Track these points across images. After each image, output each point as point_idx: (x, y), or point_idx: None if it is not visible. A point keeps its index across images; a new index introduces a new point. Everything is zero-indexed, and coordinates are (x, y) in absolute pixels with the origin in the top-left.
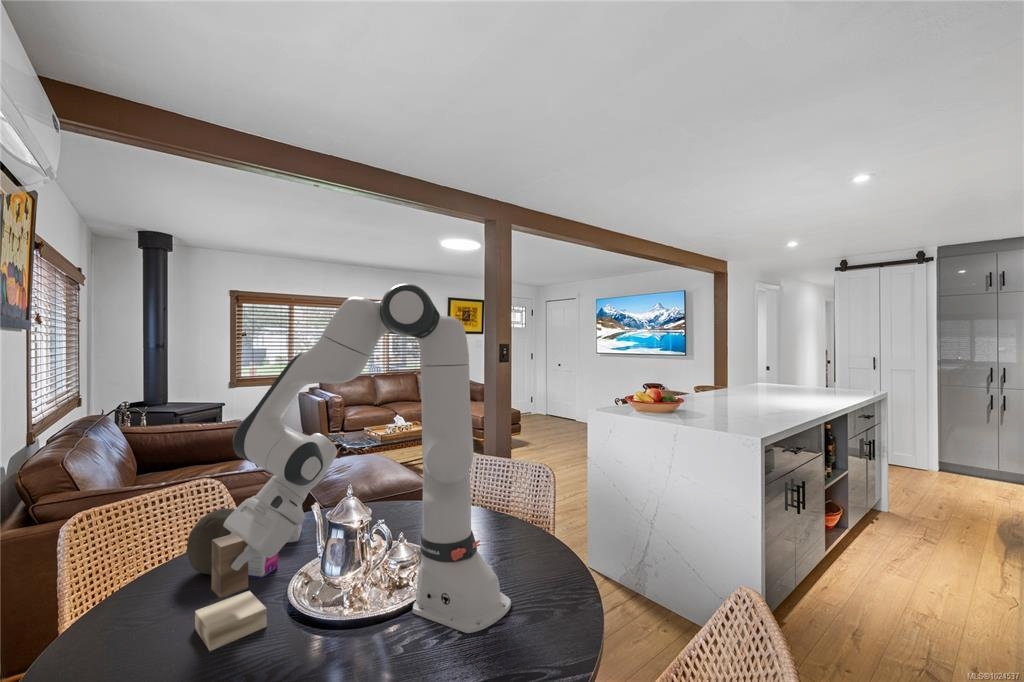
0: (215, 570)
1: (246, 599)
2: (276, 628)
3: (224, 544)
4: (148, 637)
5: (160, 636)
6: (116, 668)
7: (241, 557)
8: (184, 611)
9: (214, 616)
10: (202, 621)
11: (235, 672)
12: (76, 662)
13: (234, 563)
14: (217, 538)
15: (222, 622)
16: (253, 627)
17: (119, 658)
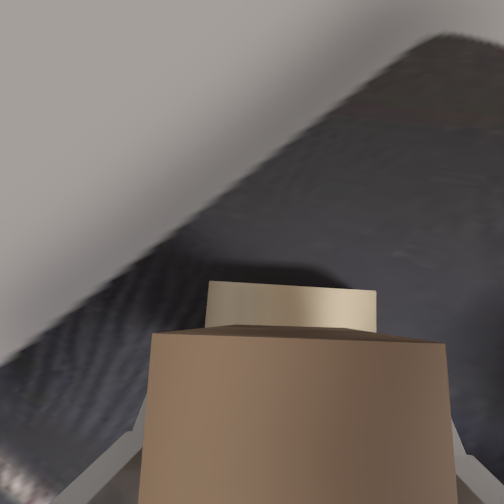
0: (300, 329)
1: None
2: None
3: (193, 387)
4: (414, 203)
5: (394, 224)
6: (325, 132)
7: (111, 455)
8: (496, 305)
9: (287, 320)
10: (286, 285)
11: (91, 297)
12: (423, 79)
13: (146, 399)
14: (440, 403)
15: (228, 323)
16: None
17: (364, 141)
